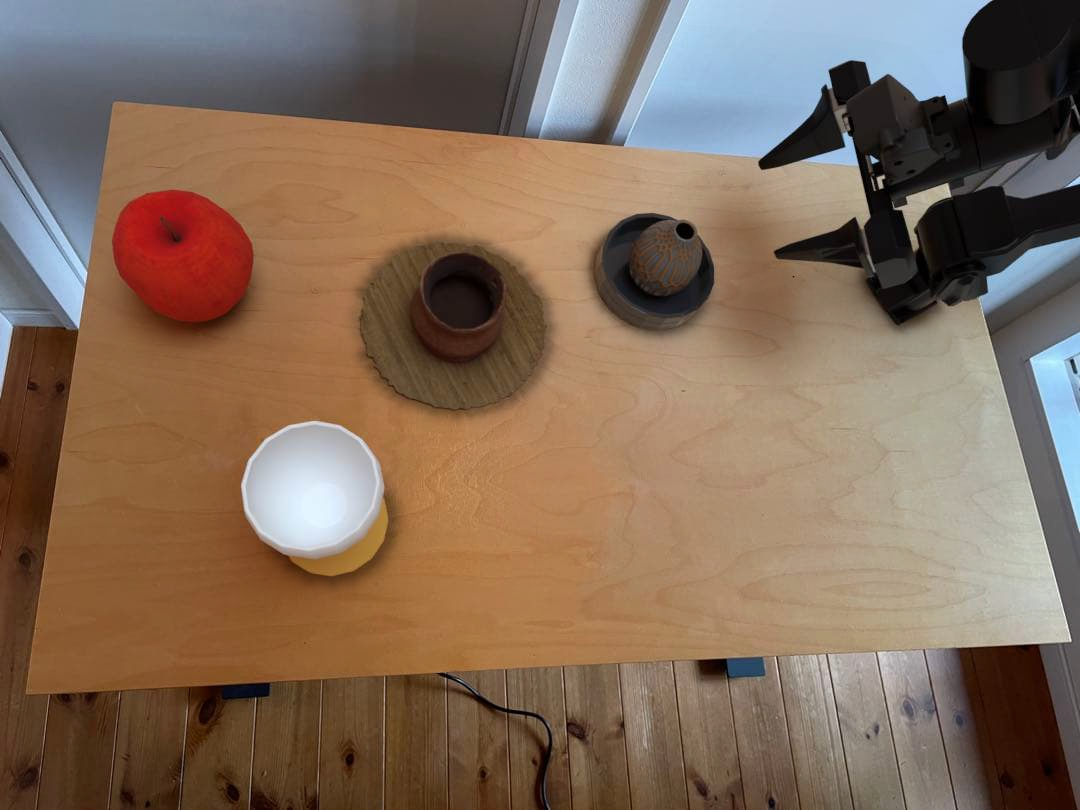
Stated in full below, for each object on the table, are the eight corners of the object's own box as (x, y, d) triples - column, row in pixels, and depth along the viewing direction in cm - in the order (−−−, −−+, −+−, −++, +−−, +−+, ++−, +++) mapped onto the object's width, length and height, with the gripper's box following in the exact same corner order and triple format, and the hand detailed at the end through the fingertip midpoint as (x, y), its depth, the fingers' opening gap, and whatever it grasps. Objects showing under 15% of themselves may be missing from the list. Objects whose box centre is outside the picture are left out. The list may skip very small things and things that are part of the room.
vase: (692, 299, 71) (730, 256, 63) (633, 311, 69) (665, 268, 61) (670, 242, 73) (705, 193, 64) (612, 252, 71) (640, 203, 63)
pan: (663, 214, 74) (674, 197, 71) (722, 303, 72) (736, 290, 69) (573, 252, 70) (580, 236, 68) (632, 348, 68) (642, 336, 65)
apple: (270, 251, 64) (243, 169, 53) (260, 347, 61) (229, 282, 49) (156, 242, 62) (102, 155, 51) (139, 341, 59) (78, 272, 47)
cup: (280, 470, 58) (240, 415, 43) (388, 468, 60) (386, 415, 45) (274, 579, 55) (228, 560, 40) (387, 573, 57) (384, 554, 42)
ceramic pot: (548, 255, 70) (564, 216, 63) (543, 418, 64) (560, 394, 57) (370, 231, 67) (367, 188, 60) (348, 401, 61) (342, 373, 54)
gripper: (932, -33, 48) (722, 69, 56) (999, 188, 43) (754, 267, 51) (945, 64, 57) (761, 141, 65) (1002, 259, 51) (793, 316, 60)
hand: (767, 209), depth 60 cm, fingers open, 9 cm apart
